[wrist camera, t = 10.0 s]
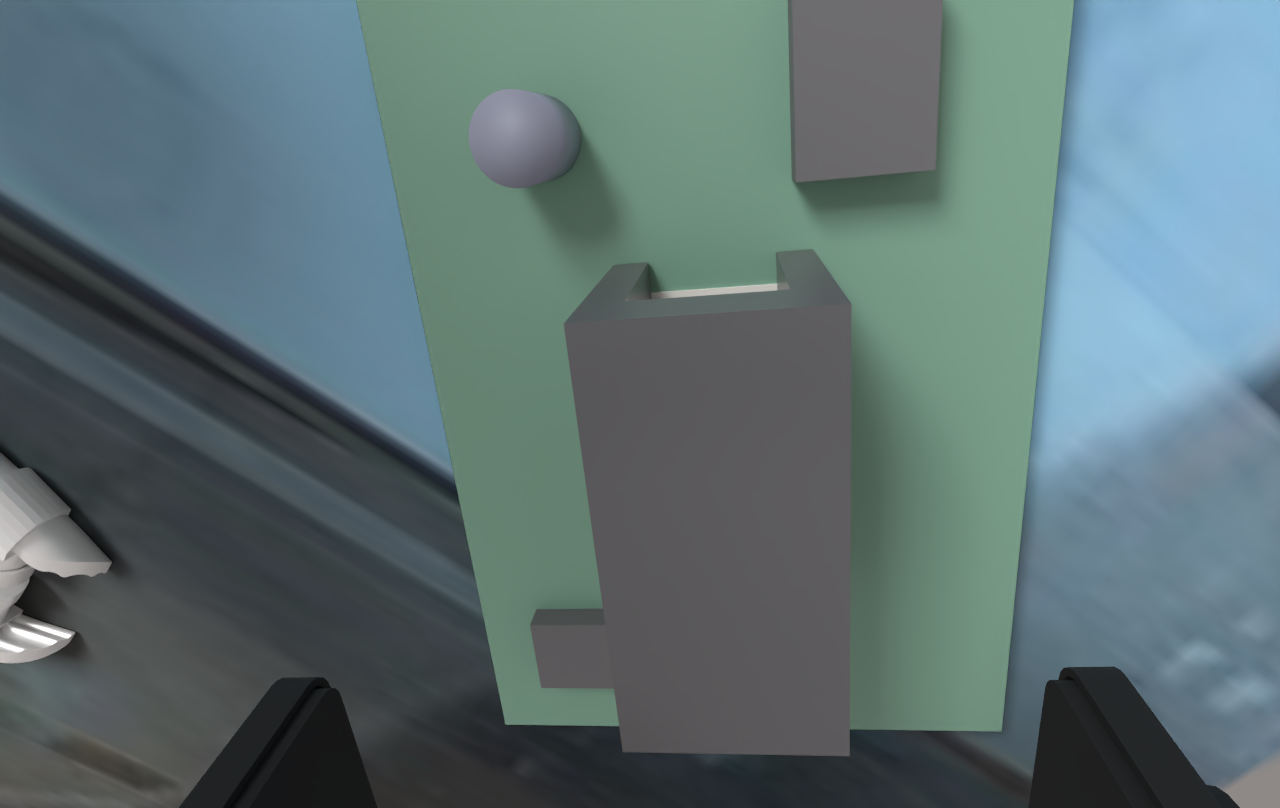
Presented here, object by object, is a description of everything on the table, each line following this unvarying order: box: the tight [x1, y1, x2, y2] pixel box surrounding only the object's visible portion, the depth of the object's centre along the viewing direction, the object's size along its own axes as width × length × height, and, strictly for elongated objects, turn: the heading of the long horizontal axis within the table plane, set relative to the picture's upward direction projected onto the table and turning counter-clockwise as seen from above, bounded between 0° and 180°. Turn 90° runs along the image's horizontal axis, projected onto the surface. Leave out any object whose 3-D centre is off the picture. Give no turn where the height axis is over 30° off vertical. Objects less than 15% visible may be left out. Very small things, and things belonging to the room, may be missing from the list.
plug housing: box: [564, 249, 852, 756], centre depth 17 cm, size 10×5×6 cm, turn 6°
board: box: [356, 0, 1074, 731], centre depth 19 cm, size 24×16×3 cm, turn 5°
